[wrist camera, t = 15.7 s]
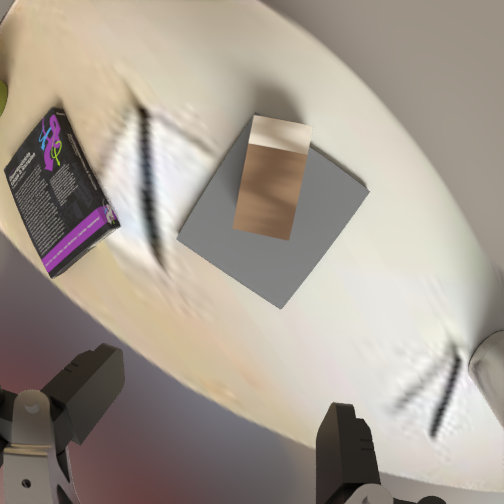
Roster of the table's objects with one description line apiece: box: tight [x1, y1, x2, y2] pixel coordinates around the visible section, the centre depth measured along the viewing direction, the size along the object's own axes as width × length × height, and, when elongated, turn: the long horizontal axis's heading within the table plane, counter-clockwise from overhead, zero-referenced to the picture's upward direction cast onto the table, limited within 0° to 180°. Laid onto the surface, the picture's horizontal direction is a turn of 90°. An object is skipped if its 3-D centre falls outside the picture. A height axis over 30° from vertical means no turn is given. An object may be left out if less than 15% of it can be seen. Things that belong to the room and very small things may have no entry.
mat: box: [177, 113, 370, 309], centre depth 31 cm, size 14×16×1 cm
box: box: [4, 107, 121, 279], centre depth 33 cm, size 14×4×20 cm
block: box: [232, 115, 313, 241], centre depth 27 cm, size 5×5×10 cm
